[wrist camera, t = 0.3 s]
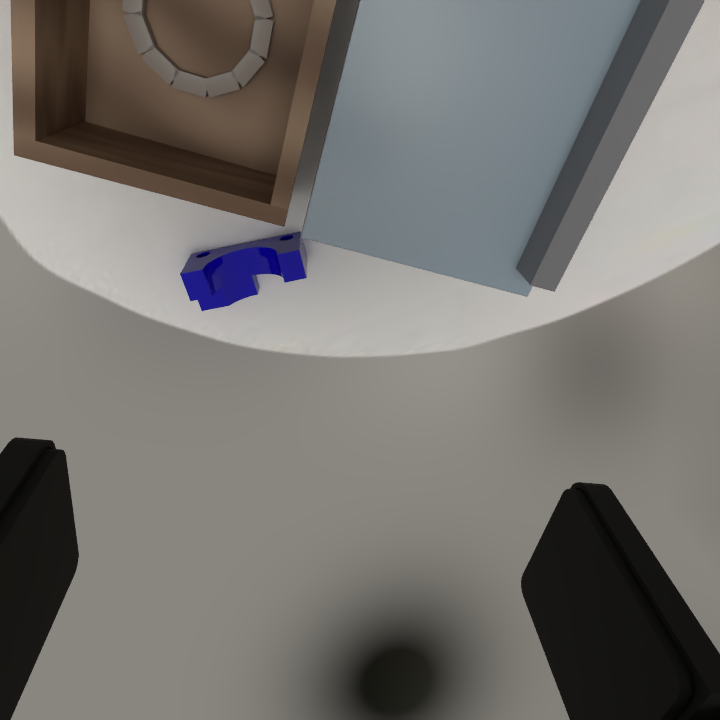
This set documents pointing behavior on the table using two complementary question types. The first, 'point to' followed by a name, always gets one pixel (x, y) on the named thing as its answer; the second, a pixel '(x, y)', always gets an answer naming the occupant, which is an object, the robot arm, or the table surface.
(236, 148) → the housing
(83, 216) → the table surface
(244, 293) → the cable holder
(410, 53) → the lid
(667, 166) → the table surface
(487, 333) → the table surface
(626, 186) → the table surface
